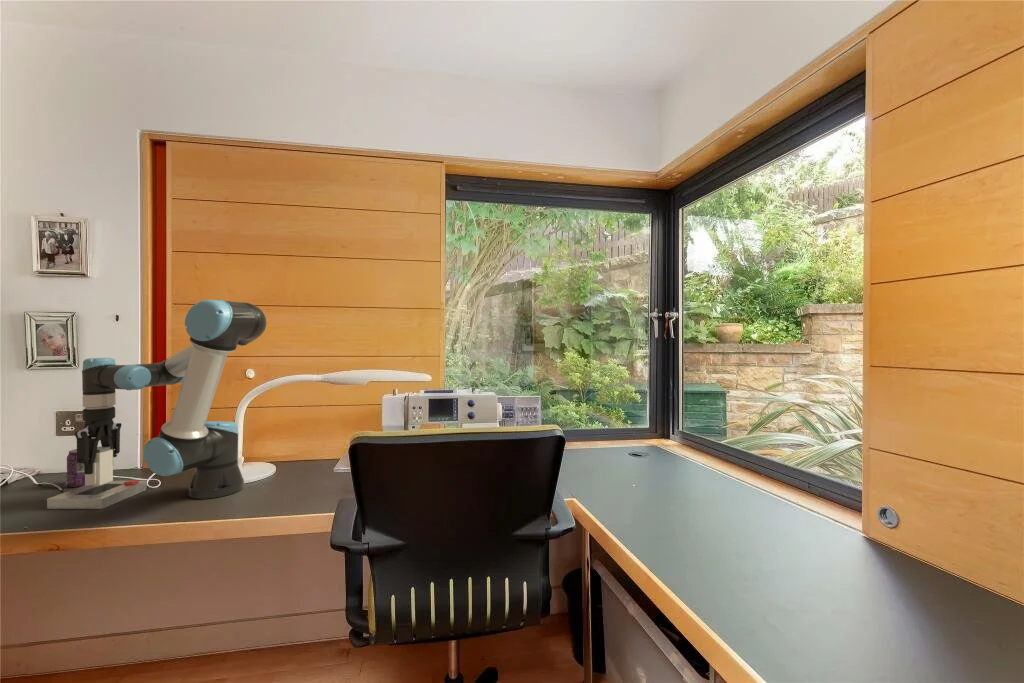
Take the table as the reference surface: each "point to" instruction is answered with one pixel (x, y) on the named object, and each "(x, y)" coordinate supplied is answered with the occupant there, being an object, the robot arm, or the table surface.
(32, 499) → the table surface
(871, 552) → the table surface
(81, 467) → the beverage can
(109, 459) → the plug
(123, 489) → the socket block
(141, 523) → the table surface
